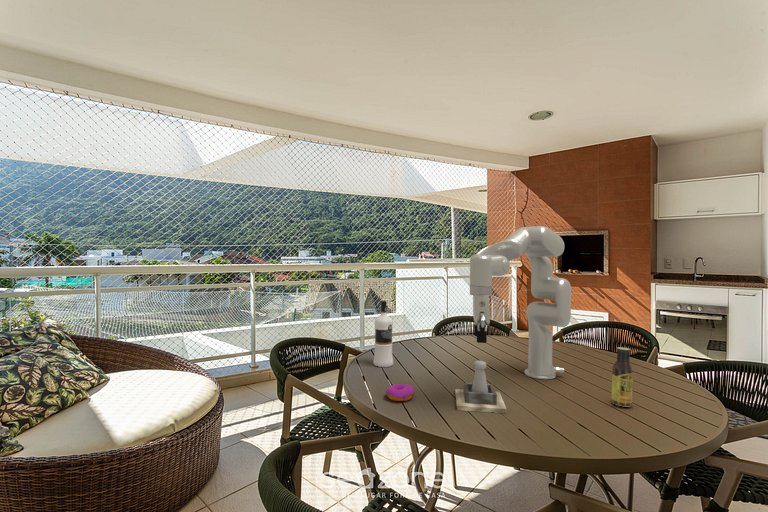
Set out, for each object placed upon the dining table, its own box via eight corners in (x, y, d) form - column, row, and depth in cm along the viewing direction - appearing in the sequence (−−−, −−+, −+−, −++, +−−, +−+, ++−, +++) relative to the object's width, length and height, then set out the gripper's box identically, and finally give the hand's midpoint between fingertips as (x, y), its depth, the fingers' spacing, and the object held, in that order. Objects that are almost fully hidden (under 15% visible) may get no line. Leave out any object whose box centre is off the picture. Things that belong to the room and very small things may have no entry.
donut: (404, 391, 147) (404, 379, 147) (420, 400, 138) (420, 387, 138) (380, 396, 142) (381, 384, 142) (396, 406, 133) (396, 392, 133)
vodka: (383, 360, 187) (384, 299, 187) (397, 365, 180) (397, 300, 180) (369, 364, 181) (369, 300, 180) (383, 369, 174) (383, 302, 174)
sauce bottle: (621, 409, 131) (622, 351, 131) (606, 402, 137) (607, 346, 137) (637, 407, 133) (638, 350, 132) (621, 401, 139) (622, 345, 139)
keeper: (499, 395, 143) (499, 382, 143) (506, 413, 127) (506, 398, 127) (455, 393, 145) (455, 379, 145) (457, 410, 129) (457, 395, 129)
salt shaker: (475, 393, 140) (476, 358, 140) (490, 397, 137) (491, 361, 137) (468, 398, 136) (468, 361, 136) (483, 402, 132) (484, 364, 132)
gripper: (495, 293, 127) (494, 345, 127) (488, 288, 144) (488, 334, 144) (471, 293, 128) (471, 344, 128) (468, 288, 145) (467, 333, 145)
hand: (480, 339), depth 136 cm, fingers open, 9 cm apart
